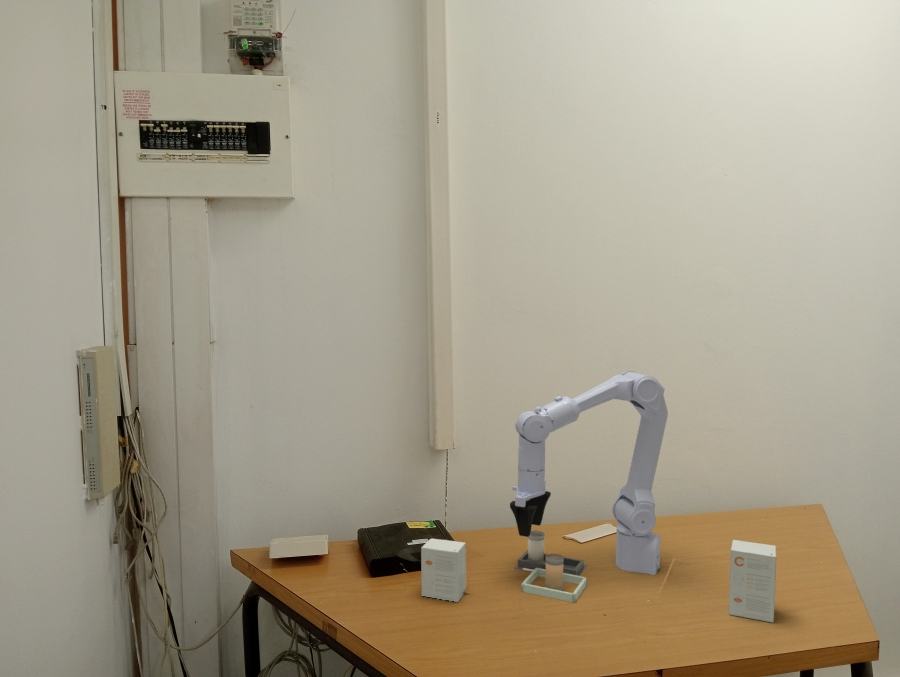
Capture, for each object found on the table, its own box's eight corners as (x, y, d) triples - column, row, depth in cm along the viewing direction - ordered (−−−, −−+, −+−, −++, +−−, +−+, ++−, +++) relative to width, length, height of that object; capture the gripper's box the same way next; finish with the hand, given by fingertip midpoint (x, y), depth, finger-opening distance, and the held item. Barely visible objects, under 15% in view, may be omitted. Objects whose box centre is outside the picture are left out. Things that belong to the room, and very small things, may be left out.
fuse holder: (587, 569, 157) (587, 558, 157) (575, 585, 149) (576, 573, 149) (527, 558, 163) (527, 547, 163) (513, 572, 155) (513, 561, 155)
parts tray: (586, 589, 147) (587, 577, 147) (574, 607, 139) (574, 595, 139) (535, 578, 152) (535, 567, 152) (520, 595, 144) (521, 584, 143)
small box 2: (774, 609, 139) (777, 545, 137) (773, 623, 133) (777, 556, 132) (729, 601, 142) (732, 538, 141) (727, 615, 136) (730, 549, 135)
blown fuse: (565, 588, 146) (566, 555, 146) (559, 595, 143) (560, 561, 142) (548, 584, 148) (548, 552, 147) (542, 591, 145) (543, 558, 144)
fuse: (546, 562, 158) (546, 532, 158) (540, 568, 155) (541, 537, 154) (530, 559, 160) (531, 529, 159) (525, 565, 157) (525, 534, 156)
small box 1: (466, 591, 146) (467, 542, 145) (458, 603, 140) (458, 552, 139) (430, 586, 148) (430, 537, 147) (420, 597, 143) (420, 546, 142)
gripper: (524, 458, 159) (523, 517, 160) (501, 474, 146) (500, 537, 147) (555, 462, 156) (553, 521, 157) (534, 478, 143) (533, 543, 144)
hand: (530, 530), depth 152 cm, fingers open, 7 cm apart
